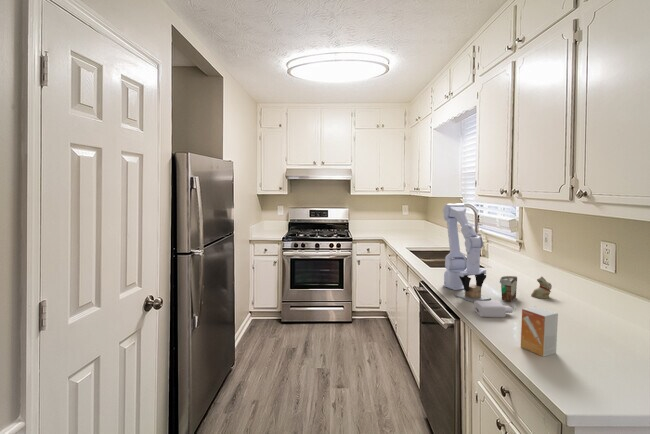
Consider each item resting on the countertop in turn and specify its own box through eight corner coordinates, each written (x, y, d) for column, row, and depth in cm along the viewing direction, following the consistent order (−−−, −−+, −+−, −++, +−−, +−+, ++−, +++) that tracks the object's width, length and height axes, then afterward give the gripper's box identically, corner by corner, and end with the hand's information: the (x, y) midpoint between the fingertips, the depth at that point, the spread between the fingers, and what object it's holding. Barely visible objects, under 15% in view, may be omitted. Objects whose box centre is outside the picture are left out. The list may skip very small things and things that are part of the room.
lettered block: (464, 295, 179) (465, 285, 179) (473, 294, 181) (473, 284, 181) (472, 298, 174) (473, 288, 174) (481, 297, 176) (481, 286, 176)
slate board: (454, 295, 181) (454, 294, 181) (471, 293, 185) (471, 291, 185) (472, 302, 170) (472, 301, 170) (491, 299, 174) (491, 298, 174)
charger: (519, 318, 149) (481, 318, 151) (510, 311, 159) (474, 310, 160) (520, 307, 149) (481, 306, 150) (510, 300, 158) (474, 299, 159)
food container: (502, 294, 182) (503, 274, 181) (516, 297, 178) (517, 276, 178) (495, 300, 173) (496, 279, 172) (510, 303, 169) (510, 281, 168)
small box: (520, 347, 122) (521, 308, 121) (533, 343, 125) (534, 305, 124) (543, 357, 115) (544, 316, 114) (557, 353, 117) (558, 313, 116)
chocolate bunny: (549, 299, 174) (550, 278, 173) (530, 296, 179) (531, 276, 178) (551, 296, 178) (552, 276, 177) (533, 293, 183) (533, 273, 183)
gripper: (467, 264, 170) (466, 293, 171) (491, 262, 176) (490, 290, 177) (456, 261, 177) (456, 290, 178) (479, 259, 182) (479, 286, 183)
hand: (472, 290), depth 178 cm, fingers open, 7 cm apart
